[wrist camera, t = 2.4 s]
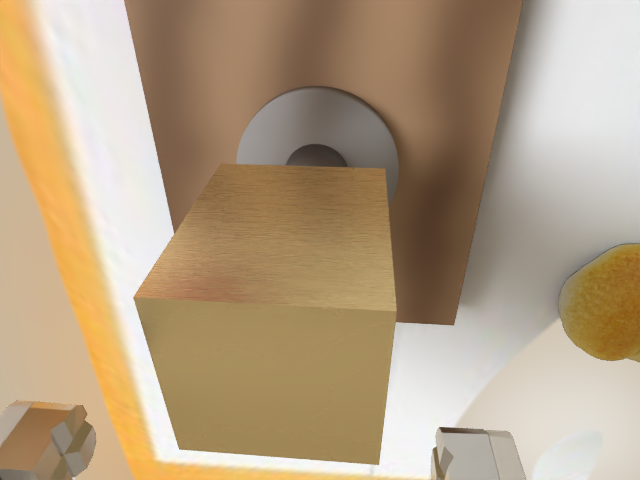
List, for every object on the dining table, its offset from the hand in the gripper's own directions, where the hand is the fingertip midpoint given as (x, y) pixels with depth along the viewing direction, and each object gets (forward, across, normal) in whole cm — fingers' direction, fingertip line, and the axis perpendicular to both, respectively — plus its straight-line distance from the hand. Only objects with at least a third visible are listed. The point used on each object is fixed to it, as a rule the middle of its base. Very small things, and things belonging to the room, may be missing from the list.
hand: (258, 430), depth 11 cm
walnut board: (+17, 0, 0) cm, 17 cm away
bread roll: (+17, -20, +9) cm, 27 cm away
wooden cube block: (+8, 0, 0) cm, 8 cm away
